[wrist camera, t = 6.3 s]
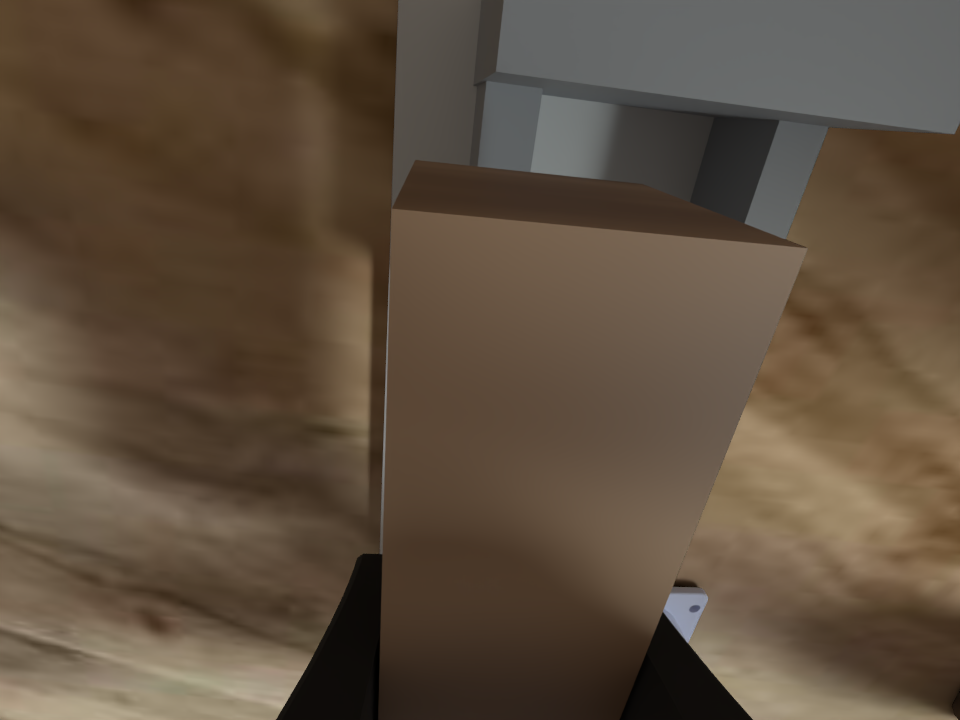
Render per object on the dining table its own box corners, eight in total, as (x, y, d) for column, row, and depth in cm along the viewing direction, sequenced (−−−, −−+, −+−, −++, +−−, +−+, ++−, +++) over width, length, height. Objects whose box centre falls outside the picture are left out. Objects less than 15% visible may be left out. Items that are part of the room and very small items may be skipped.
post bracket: (646, 574, 23) (716, 733, 17) (380, 568, 21) (357, 738, 16) (849, 30, 14) (1154, -26, 8) (401, -41, 12) (366, -174, 6)
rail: (517, 708, 16) (542, 911, 12) (390, 710, 16) (373, 920, 12) (642, 183, 9) (807, 247, 5) (415, 159, 8) (391, 208, 4)
